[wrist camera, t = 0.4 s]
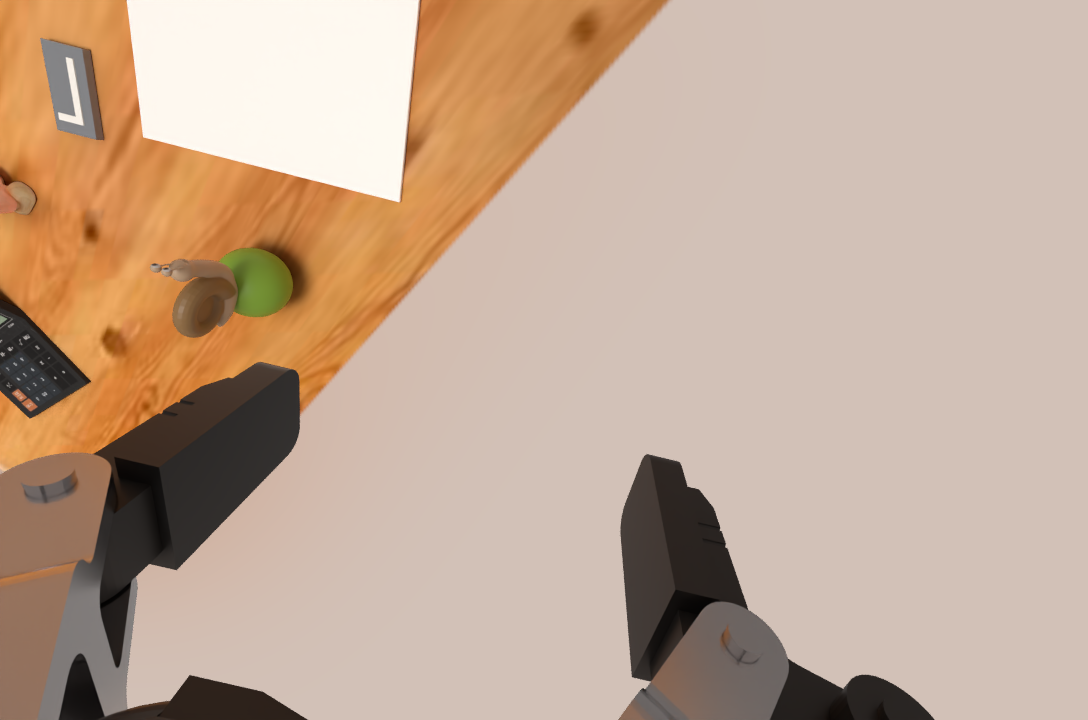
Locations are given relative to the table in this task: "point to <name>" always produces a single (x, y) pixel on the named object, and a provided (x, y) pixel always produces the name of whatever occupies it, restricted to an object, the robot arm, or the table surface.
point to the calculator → (33, 364)
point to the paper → (282, 84)
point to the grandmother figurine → (16, 198)
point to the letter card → (72, 89)
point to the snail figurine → (227, 289)
